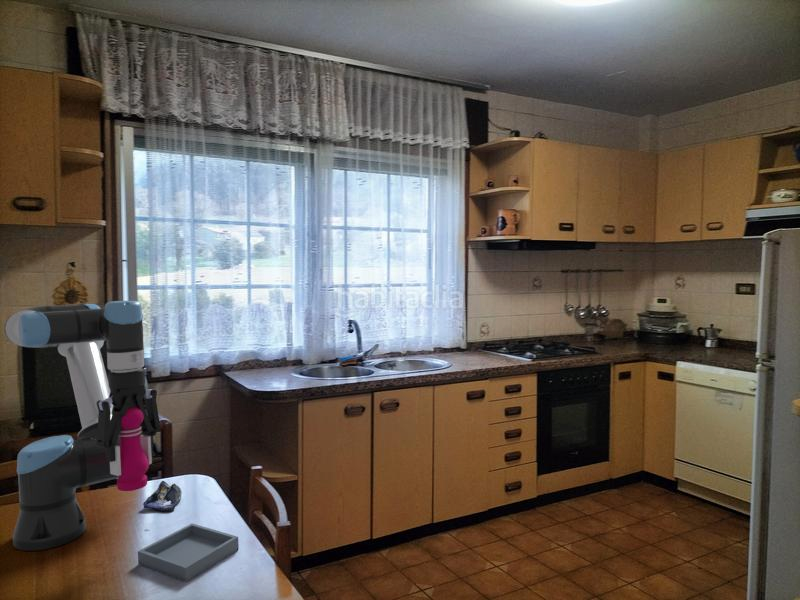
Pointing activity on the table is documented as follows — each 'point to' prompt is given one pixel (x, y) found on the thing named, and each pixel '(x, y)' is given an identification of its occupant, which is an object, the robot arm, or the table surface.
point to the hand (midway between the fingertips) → (131, 468)
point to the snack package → (164, 497)
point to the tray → (188, 551)
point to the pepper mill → (132, 452)
